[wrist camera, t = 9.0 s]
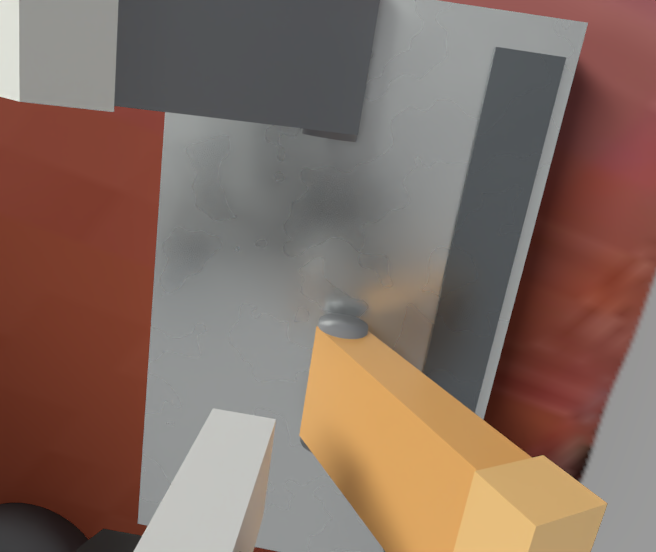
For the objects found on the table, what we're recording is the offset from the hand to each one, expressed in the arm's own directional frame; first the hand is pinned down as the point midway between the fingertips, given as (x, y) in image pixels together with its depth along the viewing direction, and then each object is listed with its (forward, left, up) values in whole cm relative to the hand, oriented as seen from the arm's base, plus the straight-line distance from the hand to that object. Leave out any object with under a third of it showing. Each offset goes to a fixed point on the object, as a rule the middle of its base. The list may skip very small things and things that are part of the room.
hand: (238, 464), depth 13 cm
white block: (+1, +10, -6) cm, 12 cm away
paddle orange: (+1, 0, -6) cm, 6 cm away
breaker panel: (+1, +2, -9) cm, 9 cm away
